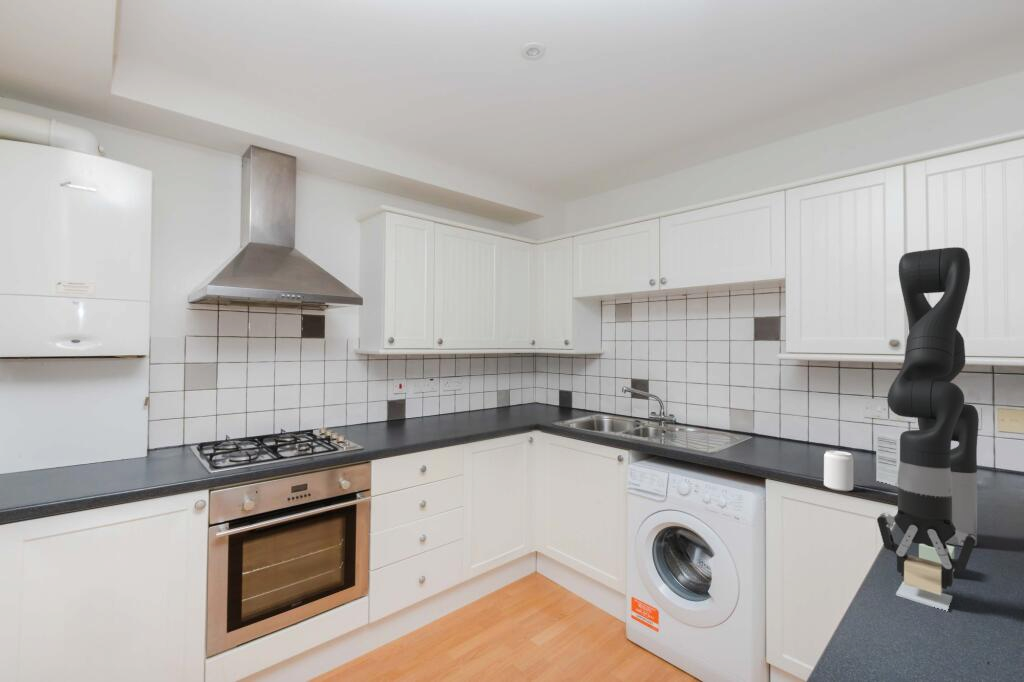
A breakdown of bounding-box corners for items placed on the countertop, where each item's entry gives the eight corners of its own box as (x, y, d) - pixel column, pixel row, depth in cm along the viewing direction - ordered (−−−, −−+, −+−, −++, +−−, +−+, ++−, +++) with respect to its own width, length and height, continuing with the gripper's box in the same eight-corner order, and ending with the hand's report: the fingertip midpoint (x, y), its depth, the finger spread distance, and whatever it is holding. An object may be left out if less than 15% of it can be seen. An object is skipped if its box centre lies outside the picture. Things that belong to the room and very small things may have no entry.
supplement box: (892, 479, 169) (893, 433, 170) (922, 486, 161) (922, 437, 161) (875, 481, 166) (875, 434, 167) (904, 488, 157) (904, 438, 158)
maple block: (908, 575, 89) (909, 554, 89) (944, 586, 85) (944, 564, 85) (904, 584, 86) (904, 562, 86) (940, 595, 82) (940, 572, 82)
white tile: (902, 583, 90) (902, 581, 90) (952, 598, 85) (952, 595, 85) (896, 595, 86) (896, 593, 86) (947, 611, 81) (947, 609, 81)
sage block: (922, 562, 100) (922, 539, 100) (954, 570, 97) (954, 546, 97) (918, 569, 97) (918, 545, 97) (951, 578, 93) (951, 553, 93)
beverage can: (841, 485, 160) (841, 450, 160) (859, 492, 152) (859, 455, 152) (818, 484, 160) (818, 449, 160) (835, 492, 152) (835, 455, 152)
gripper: (980, 494, 83) (980, 590, 83) (880, 476, 94) (879, 562, 93) (977, 502, 78) (977, 604, 78) (871, 483, 89) (871, 573, 88)
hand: (924, 580), depth 85 cm, fingers closed on maple block, 5 cm apart
